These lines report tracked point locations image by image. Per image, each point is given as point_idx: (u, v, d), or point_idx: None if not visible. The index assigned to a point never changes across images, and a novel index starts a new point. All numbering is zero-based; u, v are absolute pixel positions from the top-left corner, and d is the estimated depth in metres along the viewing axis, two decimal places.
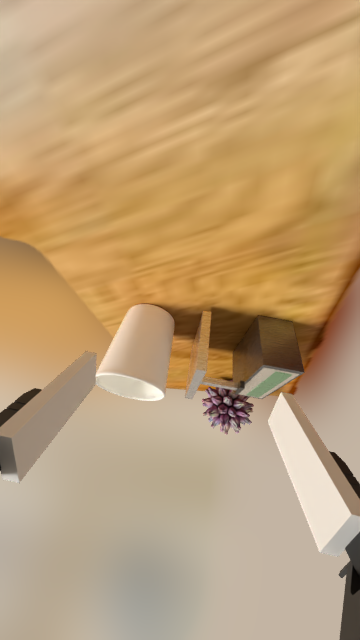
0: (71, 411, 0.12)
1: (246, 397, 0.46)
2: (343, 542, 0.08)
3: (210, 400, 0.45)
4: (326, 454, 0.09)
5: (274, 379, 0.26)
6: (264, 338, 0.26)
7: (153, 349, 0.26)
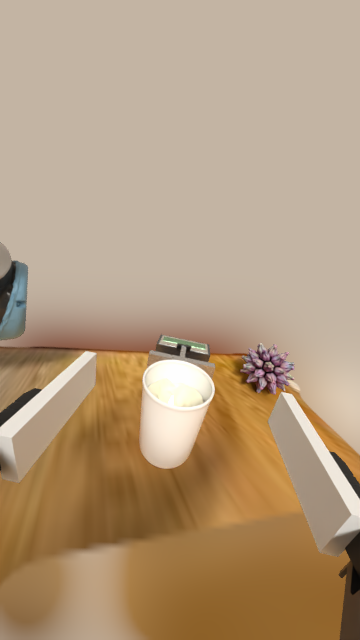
0: (71, 411, 0.12)
1: None
2: (343, 542, 0.08)
3: (267, 378, 0.42)
4: (326, 454, 0.09)
5: (171, 340, 0.45)
6: None
7: None
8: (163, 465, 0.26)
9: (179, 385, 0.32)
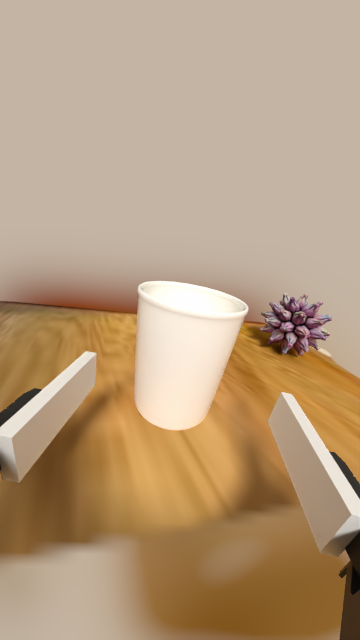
0: (71, 411, 0.12)
1: None
2: (343, 542, 0.08)
3: (297, 331, 0.33)
4: (326, 454, 0.09)
5: None
6: None
7: None
8: (170, 424, 0.17)
9: None
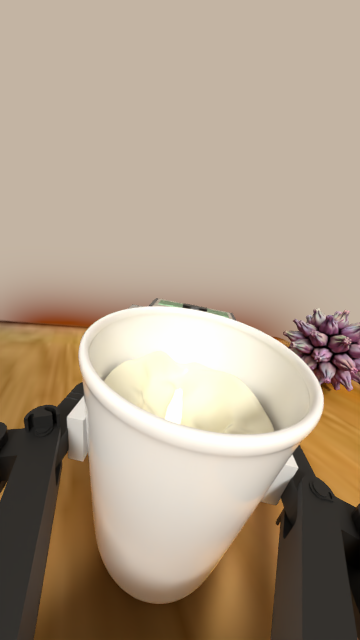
0: None
1: None
2: (278, 491, 0.09)
3: (337, 362, 0.24)
4: None
5: (172, 304, 0.28)
6: None
7: None
8: (154, 600, 0.09)
9: (193, 369, 0.14)
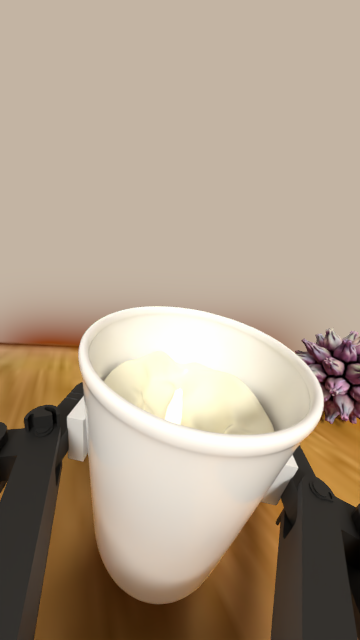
0: None
1: None
2: (278, 491, 0.09)
3: (357, 396, 0.21)
4: None
5: None
6: None
7: None
8: (154, 600, 0.09)
9: (193, 369, 0.14)
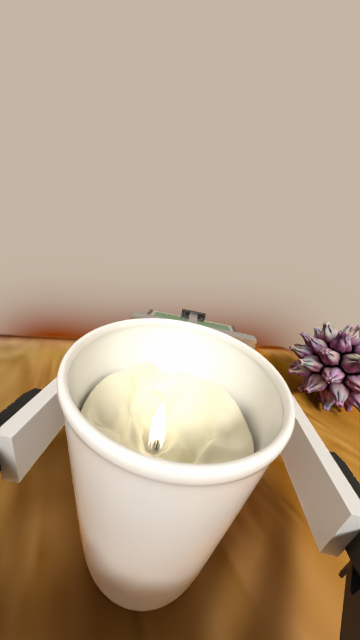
0: None
1: None
2: (343, 542, 0.08)
3: (351, 384, 0.22)
4: (326, 454, 0.09)
5: (168, 317, 0.25)
6: None
7: None
8: (138, 608, 0.09)
9: (180, 378, 0.14)
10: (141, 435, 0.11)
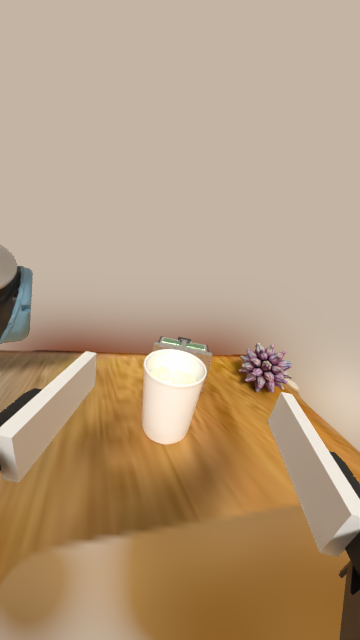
0: (71, 411, 0.12)
1: None
2: (343, 542, 0.08)
3: (265, 376, 0.43)
4: (326, 454, 0.09)
5: (171, 341, 0.47)
6: None
7: None
8: (164, 441, 0.30)
9: (176, 372, 0.35)
10: None
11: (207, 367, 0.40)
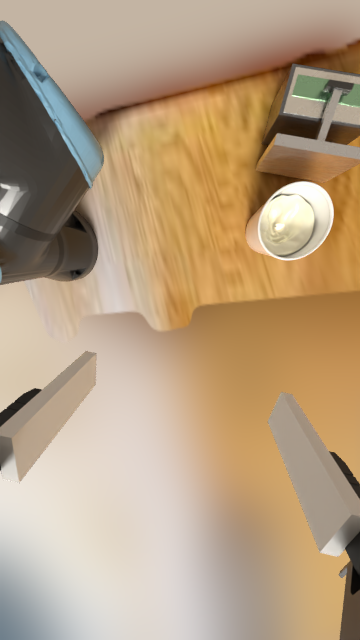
0: (71, 411, 0.12)
1: None
2: (343, 542, 0.08)
3: None
4: (326, 454, 0.09)
5: (309, 90, 0.25)
6: (270, 127, 0.30)
7: (261, 207, 0.30)
8: None
9: (294, 198, 0.29)
10: (271, 226, 0.32)
11: (347, 168, 0.28)
